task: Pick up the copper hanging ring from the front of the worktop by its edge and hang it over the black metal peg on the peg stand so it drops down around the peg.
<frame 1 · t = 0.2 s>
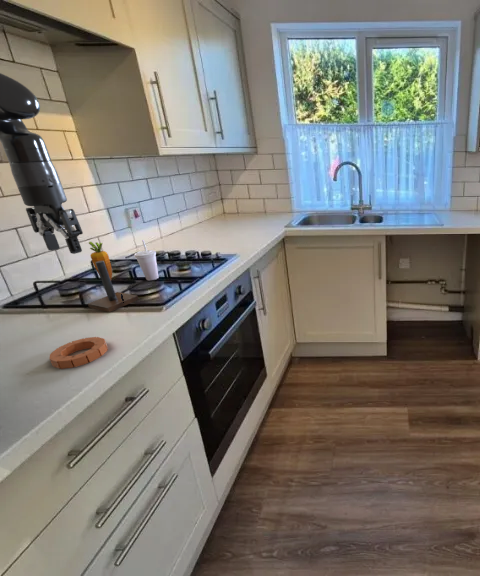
hand: (65, 251, 88), 21 cm above the countertop, tool pointing down, fingers open, 8 cm apart
smoothie: (152, 279, 128), on the countertop
carrot: (109, 283, 125), on the countertop
hang ring: (81, 355, 83), on the countertop
peg stand: (114, 303, 109), on the countertop
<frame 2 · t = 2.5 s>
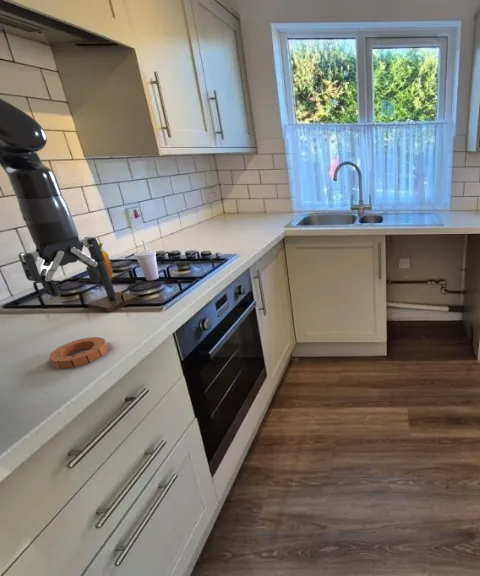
hand: (76, 288, 83), 15 cm above the countertop, tool pointing down, fingers open, 8 cm apart
nothing on the countertop moved.
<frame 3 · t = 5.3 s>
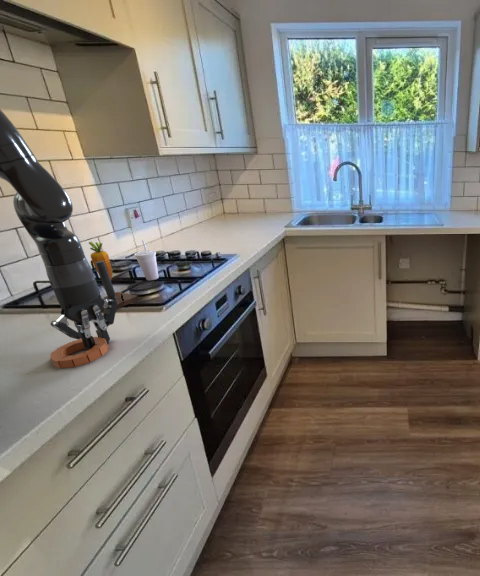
hand: (99, 346, 87), 0 cm above the countertop, tool pointing down, fingers closed on hang ring, 2 cm apart
hang ring: (81, 355, 83), on the countertop, touching gripper
everything else where it was.
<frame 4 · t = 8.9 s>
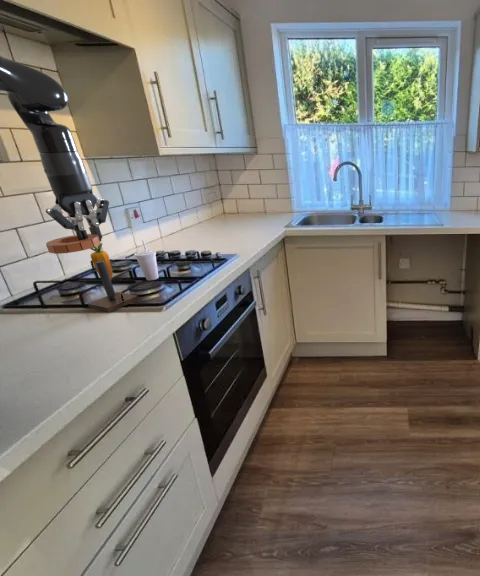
hand: (92, 242, 93), 22 cm above the countertop, tool pointing down, fingers closed on hang ring
hang ring: (75, 247, 89), point 21 cm above the countertop, touching gripper
everything else where it was.
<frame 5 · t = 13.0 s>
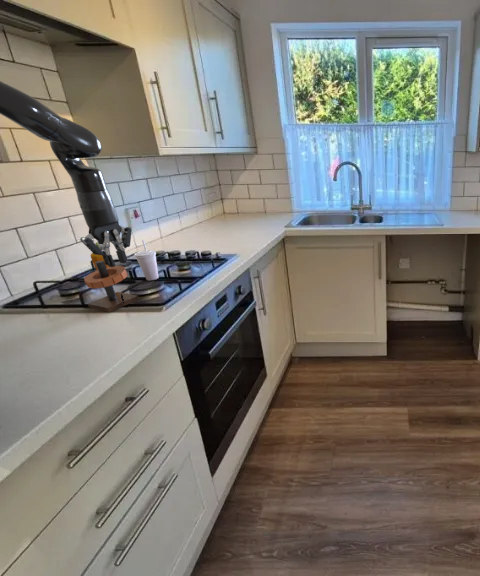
hand: (117, 264, 109), 11 cm above the countertop, tool pointing down, fingers open, 3 cm apart
hang ring: (108, 279, 107), point 8 cm above the countertop, tilted 8°
everything else where it was.
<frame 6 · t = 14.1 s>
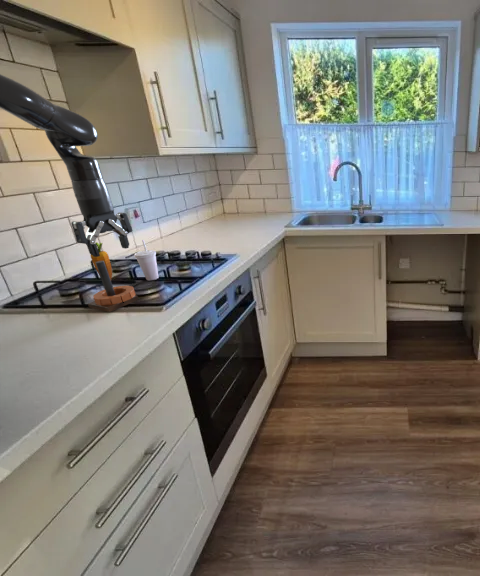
hand: (111, 252, 107), 15 cm above the countertop, tool pointing down, fingers open, 8 cm apart
hang ring: (116, 298, 109), point 1 cm above the countertop, touching peg stand
everything else where it was.
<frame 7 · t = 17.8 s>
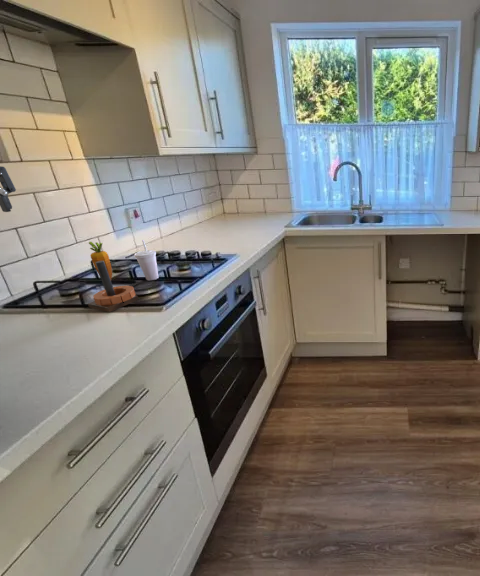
nothing on the countertop moved.
at the end: hang ring 1.0 cm off-centre on the peg stand, point 1.5 cm above the peg stand's base; the gripper is holding nothing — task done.
